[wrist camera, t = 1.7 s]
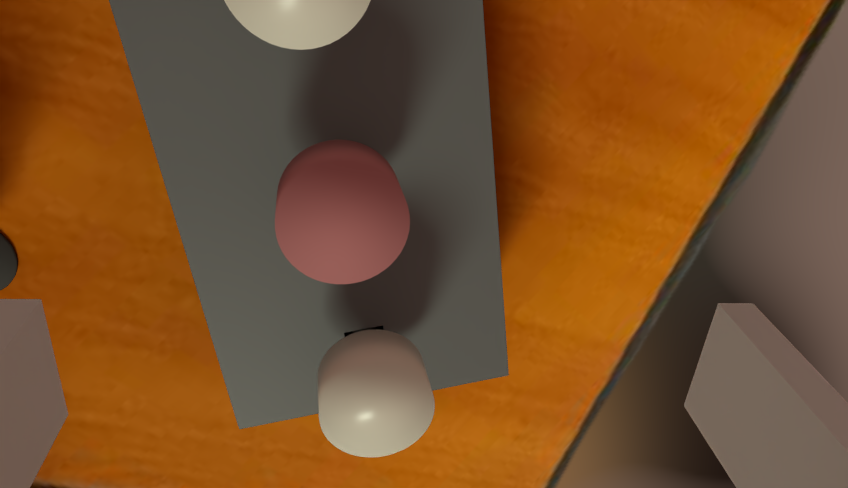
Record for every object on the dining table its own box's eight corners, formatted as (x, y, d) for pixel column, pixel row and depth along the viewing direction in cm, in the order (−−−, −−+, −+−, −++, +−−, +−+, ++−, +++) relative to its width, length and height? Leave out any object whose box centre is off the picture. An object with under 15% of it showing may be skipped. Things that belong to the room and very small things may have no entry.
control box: (248, 350, 45) (239, 429, 38) (120, -112, 33) (71, -124, 26) (476, 307, 47) (508, 375, 40) (435, -149, 35) (470, -169, 28)
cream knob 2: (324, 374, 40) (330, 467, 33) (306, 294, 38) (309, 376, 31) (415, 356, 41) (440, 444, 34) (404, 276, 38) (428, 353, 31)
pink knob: (291, 223, 36) (289, 294, 29) (268, 122, 33) (261, 172, 26) (394, 206, 36) (417, 271, 29) (380, 105, 34) (400, 150, 27)
